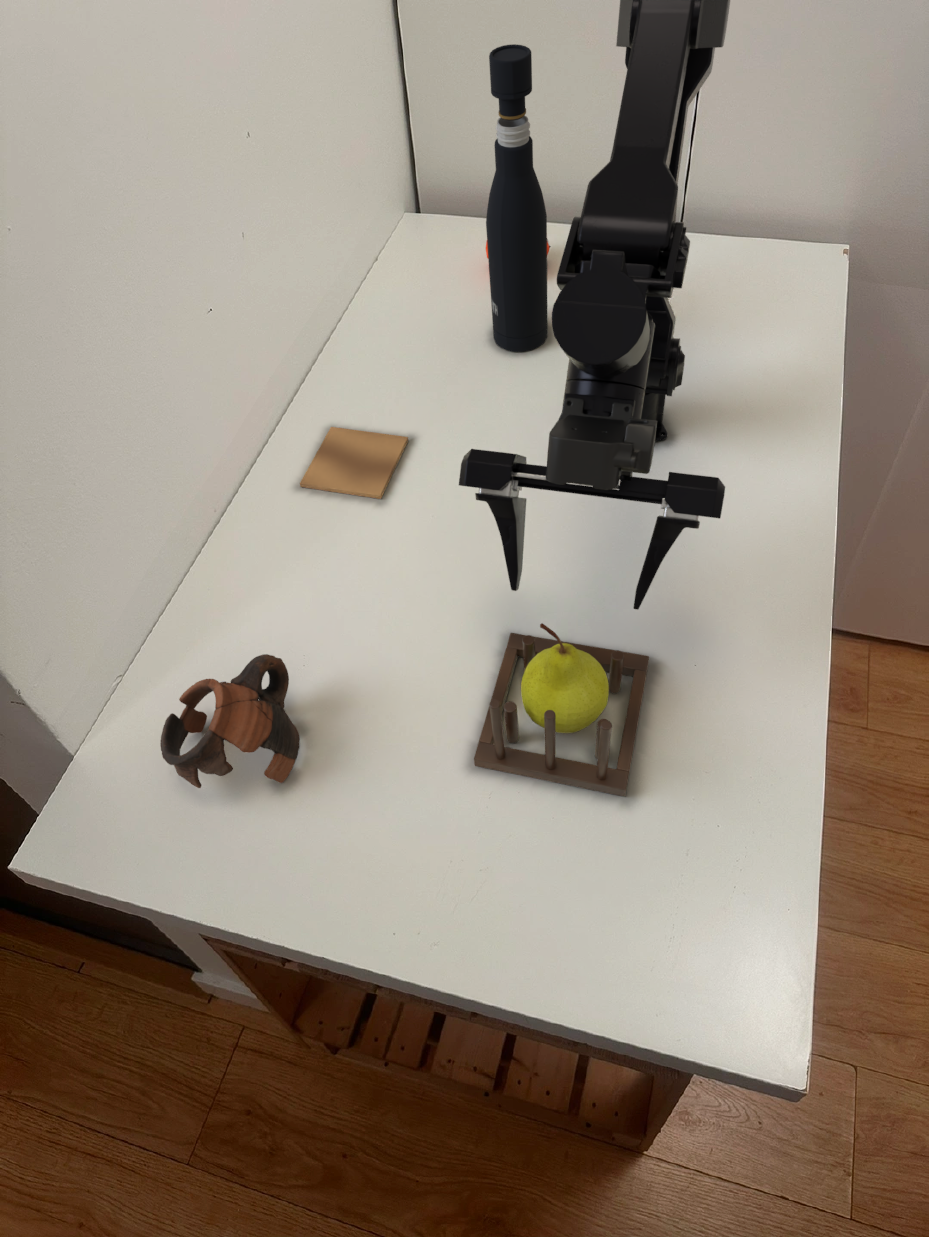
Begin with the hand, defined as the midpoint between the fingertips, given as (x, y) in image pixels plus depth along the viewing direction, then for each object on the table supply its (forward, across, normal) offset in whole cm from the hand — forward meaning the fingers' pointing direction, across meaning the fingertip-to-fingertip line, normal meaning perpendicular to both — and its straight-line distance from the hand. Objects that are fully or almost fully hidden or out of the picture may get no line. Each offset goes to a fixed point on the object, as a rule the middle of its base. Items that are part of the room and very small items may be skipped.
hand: (574, 599), depth 65 cm
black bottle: (-25, -15, +40) cm, 49 cm away
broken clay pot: (+16, -25, -1) cm, 30 cm away
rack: (+10, 0, +5) cm, 11 cm away
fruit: (+10, 0, +5) cm, 11 cm away
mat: (-8, -27, +23) cm, 37 cm away
